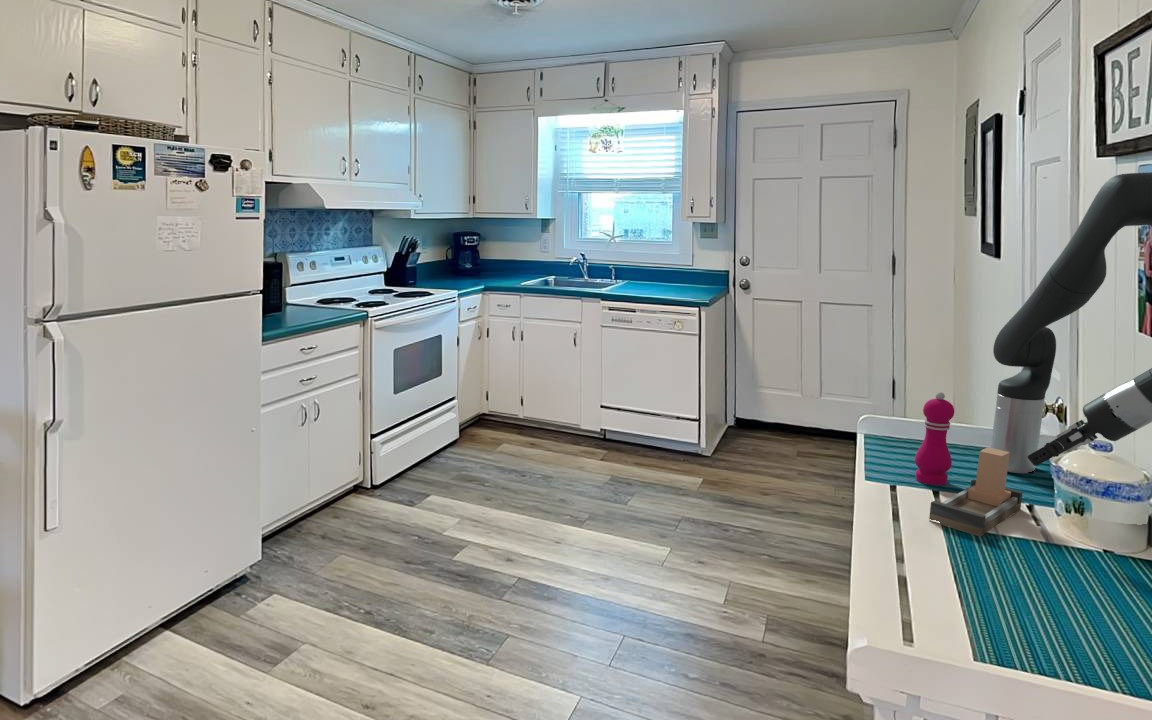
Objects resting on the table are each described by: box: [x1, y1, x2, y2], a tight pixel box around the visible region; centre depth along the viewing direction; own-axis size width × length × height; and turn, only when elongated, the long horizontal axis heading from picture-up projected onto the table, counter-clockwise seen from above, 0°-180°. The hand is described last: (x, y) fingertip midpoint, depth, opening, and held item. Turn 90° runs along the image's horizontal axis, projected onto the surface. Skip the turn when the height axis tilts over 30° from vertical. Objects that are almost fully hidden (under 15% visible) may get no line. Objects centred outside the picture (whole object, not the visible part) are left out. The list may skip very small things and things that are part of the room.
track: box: [928, 479, 1024, 538], centre depth 134 cm, size 20×9×4 cm, turn 130°
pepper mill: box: [914, 391, 955, 486], centre depth 152 cm, size 7×7×20 cm
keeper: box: [968, 446, 1011, 507], centre depth 137 cm, size 5×6×10 cm
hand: (1039, 456), depth 131 cm, fingers open, 8 cm apart
